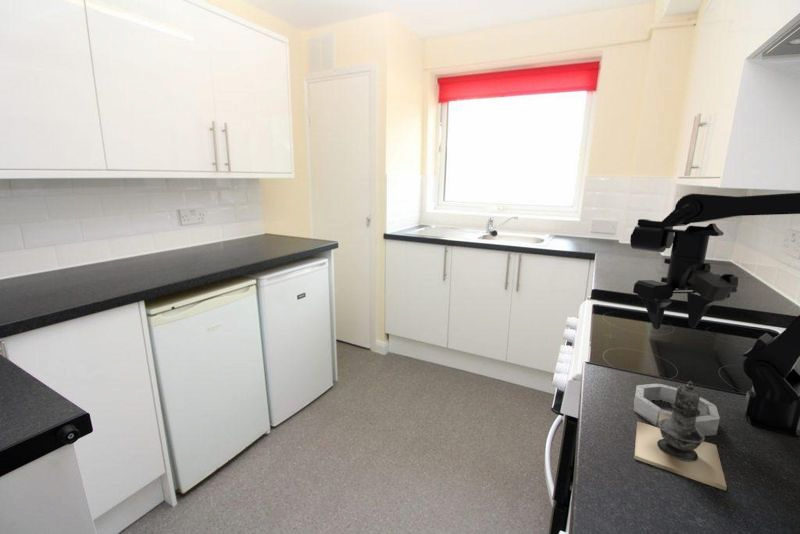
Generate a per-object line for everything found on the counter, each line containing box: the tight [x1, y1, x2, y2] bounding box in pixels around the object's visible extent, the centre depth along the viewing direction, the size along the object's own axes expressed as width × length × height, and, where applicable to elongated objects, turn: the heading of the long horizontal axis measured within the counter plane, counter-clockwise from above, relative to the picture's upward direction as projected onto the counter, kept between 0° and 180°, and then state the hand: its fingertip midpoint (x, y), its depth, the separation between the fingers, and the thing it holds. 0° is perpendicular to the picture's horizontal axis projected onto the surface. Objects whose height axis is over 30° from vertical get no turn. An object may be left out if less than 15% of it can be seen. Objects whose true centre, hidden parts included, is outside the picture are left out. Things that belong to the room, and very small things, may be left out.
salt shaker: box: [657, 380, 706, 462], centre depth 59 cm, size 6×6×12 cm
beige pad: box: [633, 421, 728, 491], centre depth 60 cm, size 11×11×1 cm
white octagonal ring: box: [633, 383, 721, 437], centre depth 71 cm, size 12×12×3 cm
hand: (674, 328), depth 80 cm, fingers open, 9 cm apart
